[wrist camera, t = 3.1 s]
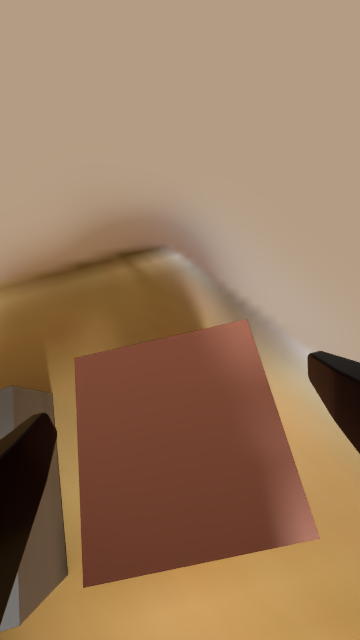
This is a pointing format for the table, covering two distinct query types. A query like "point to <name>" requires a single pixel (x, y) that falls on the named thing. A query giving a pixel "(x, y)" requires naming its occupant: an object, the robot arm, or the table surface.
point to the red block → (182, 456)
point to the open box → (48, 530)
